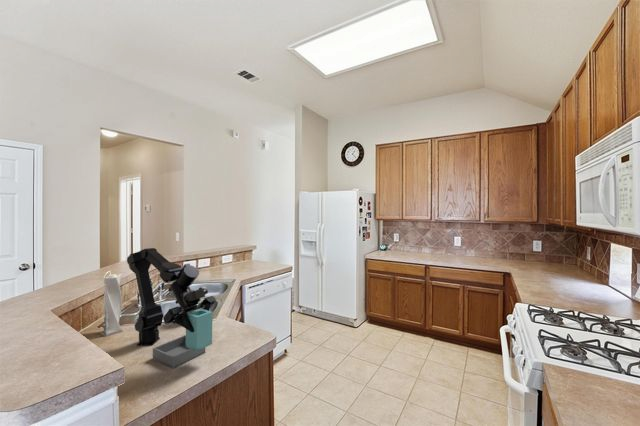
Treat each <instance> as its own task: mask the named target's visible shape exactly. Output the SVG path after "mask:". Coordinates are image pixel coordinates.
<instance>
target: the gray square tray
mask: <svg viewBox="0 0 640 426" xmlns="http://www.w3.org/2000/svg"><path fill="white" fill-rule="evenodd" d="M204 354H206V347H205V348H203V349H201V350H199V351H194V350H192V349H190V348H187V347H186V334H184V335H182V336H179V337H177V338H175V339H172V340H169V341H167V342H165V343H163V344H159V345H158V346H155V347H152V360H155V361H156V362H159V363H160V364H163V365H164V366H166V367H169V368H171V369H175V368H178V367H180V366H183V364H186V363H187V362H190V361H191V360H193V359H196V358H199V356H201V355H204Z"/></svg>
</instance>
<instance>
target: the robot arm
mask: <svg viewBox="0 0 640 426" xmlns="http://www.w3.org/2000/svg"><path fill="white" fill-rule="evenodd" d="M126 263H127V264H128V267H129V269H130V271H132V272H133V274H134V275H135V278H136V279H135V280H136V283H137V289H138V293H139V299H140V306H141V307H140V310H139V311H138V319H137V320H136V323H135V324H134V330H135V331H136V332H138V342H137V343H136V346H153V345H155V343H157V342H158V341H159V340H160V339H161V337H160V330H159V327H160V326H162V324H163V322H164V324H165V325H168V324H171V323H172V324H174V325H175V324H177V325H178V326H180V327H182V328H184V329H185V330H186V329H187V330H189V331H190V332H192V333H193V332H194V329H193V326H192V324H191V322H190V320H189V319H188V314H187V313H188V312H191V311H194V310H197V309H204V310H208V311H210V309H211V308H212V307H213V306H214V305H215V303H216V302H217V299H216V298H215V296H213V295H211V296H207V297H206V295H207V294H208V293H209V291H208V288H207V287H206V286H205V285H203V286H200V287H199V288H198V289H196V290H194V289H191V287H190V286H192V284H193V283H194V282H195V281H196V279H197V278H198V277H199V276H200V270H199V269H198V268H197V267H195V266H194V265H191V264H190V263H184V264H183V265H180V264H178V263H175V262H171V261H169V260H168V259H166V257H164V255H162V254H161V253H159V252H158V250H157V249H156V248H155V247H148V248H143V249H142V250H141V249H140V251H137V252H133V253H130V254H129V255H128V256H127V258H126ZM151 265H152V266H153V267H154V268H156V270H158V272H159V277H160V279H161V280H162V281H163V282H164V283H170V284H169V288H168V292H170V293H171V292H172V294H173V295H174V297H175V299H176V300H175V304H176V305H177V304H178V305H179V306H175V307H171V308H169V309H168V310H167V312H166V313H165V314H164V313H163V311H162V306H161V305H160V304H159V305H158V304H157V303H156V302H155V297H154V292H153V287H152V286H153V285H152V282H151V278H150V271H149V270H150V267H151ZM171 282H172V283H171ZM200 298H202V302H201V303H199V304H198V302H199V301H200V300H201V299H200Z"/></svg>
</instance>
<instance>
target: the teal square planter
mask: <svg viewBox="0 0 640 426" xmlns="http://www.w3.org/2000/svg"><path fill="white" fill-rule="evenodd" d="M187 314H188V319H189V320H190V322H191V324H192V326H193V329H194V332H193V333H192V332H190V331H189V330H187V329H186V328H185V335H186V347H187V348H190V349H192V350H194V351H199V350H201V349H203V348H205V349H206V348H207V347H209V346H211V345H213V311H210V310H209V311H208V310H204V309H199V310H196V311H193V312H190V313H187Z"/></svg>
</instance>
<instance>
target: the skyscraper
mask: <svg viewBox="0 0 640 426" xmlns="http://www.w3.org/2000/svg"><path fill="white" fill-rule="evenodd" d="M108 273H109V275H108V276H107V274H108ZM102 278H103V283H104V287H105V288H104V289H105V290H104V294H103V302H102V303H103V304H102V305H103V315H104V317H103V320H104V321H103V322H104V324H103V325H104V326H103V330H101V331H99V332H98V333H99V335H102V336H103V337H109V336H111V335H116V334H118V333H119V334H120V333H122V332H123V331H124V330H122V328H121V325H120V320H121V319H120V318H121V314H122V307H123V306H122V305H123V297H122V296H123V295H122V294H123V293H122V291H121V290H122V289H121V286H120V285H121V281H122V278H123V274H122V273H120V274H118V275H117V274H116V273H115V274H112V271H111V270H109V271H107V272H106V273H104V275H103V277H102Z"/></svg>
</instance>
